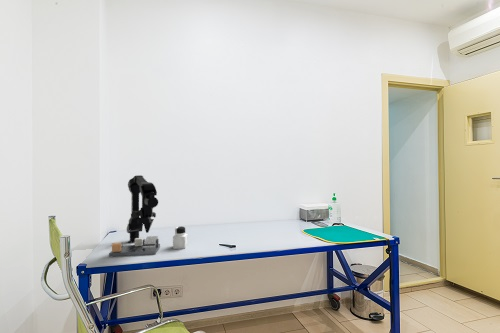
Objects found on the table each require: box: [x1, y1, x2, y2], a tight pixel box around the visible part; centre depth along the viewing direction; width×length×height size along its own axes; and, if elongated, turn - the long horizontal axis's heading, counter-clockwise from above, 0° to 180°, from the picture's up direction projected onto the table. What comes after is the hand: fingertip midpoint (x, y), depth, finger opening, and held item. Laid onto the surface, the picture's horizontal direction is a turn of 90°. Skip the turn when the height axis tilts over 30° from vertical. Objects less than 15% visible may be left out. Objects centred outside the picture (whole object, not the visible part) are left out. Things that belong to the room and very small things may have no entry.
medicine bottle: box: [172, 226, 188, 250], centre depth 163 cm, size 7×7×12 cm
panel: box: [108, 238, 161, 258], centre depth 155 cm, size 14×24×7 cm, turn 99°
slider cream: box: [134, 237, 144, 246], centre depth 159 cm, size 3×4×4 cm
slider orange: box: [111, 242, 122, 252], centre depth 149 cm, size 3×4×4 cm
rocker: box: [143, 235, 159, 248], centre depth 156 cm, size 11×6×1 cm, turn 9°
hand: (147, 232), depth 155 cm, fingers closed
